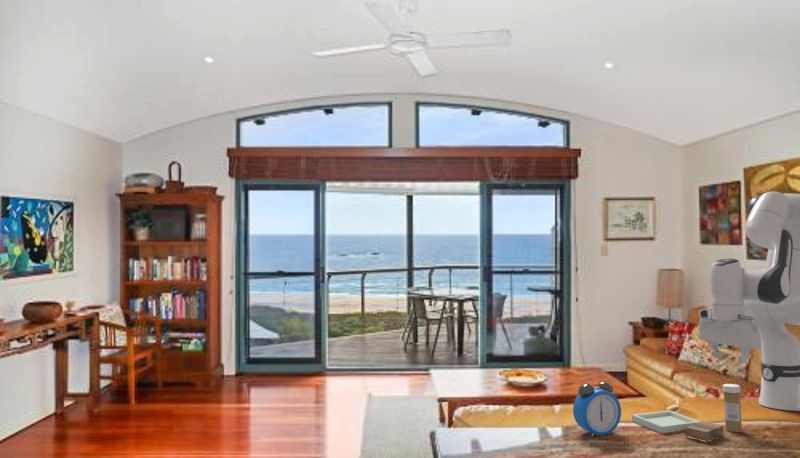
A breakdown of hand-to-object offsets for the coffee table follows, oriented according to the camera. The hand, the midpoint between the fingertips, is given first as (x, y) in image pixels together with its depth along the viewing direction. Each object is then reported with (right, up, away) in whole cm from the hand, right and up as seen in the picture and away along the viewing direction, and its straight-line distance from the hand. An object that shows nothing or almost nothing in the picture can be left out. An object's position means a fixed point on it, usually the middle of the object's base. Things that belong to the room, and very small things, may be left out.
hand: (729, 360), depth 181 cm
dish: (-16, -22, +7) cm, 28 cm away
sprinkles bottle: (+1, -21, -1) cm, 21 cm away
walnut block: (-10, -21, -6) cm, 24 cm away
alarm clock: (-39, -22, +1) cm, 45 cm away
